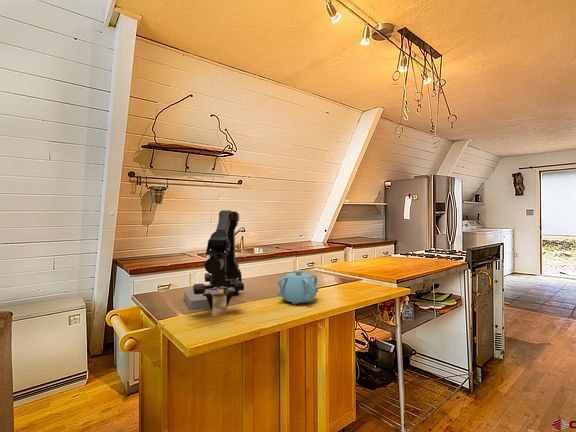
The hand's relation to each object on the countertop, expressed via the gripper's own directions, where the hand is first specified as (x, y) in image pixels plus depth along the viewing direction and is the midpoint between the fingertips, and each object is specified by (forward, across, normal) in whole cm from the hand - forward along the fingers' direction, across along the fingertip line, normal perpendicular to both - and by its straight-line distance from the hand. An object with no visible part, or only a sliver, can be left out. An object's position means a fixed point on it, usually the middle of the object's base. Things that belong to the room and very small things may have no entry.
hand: (218, 309), depth 122 cm
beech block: (+2, 0, 0) cm, 2 cm away
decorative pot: (+2, -36, -5) cm, 36 cm away
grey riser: (+2, +3, -18) cm, 18 cm away
